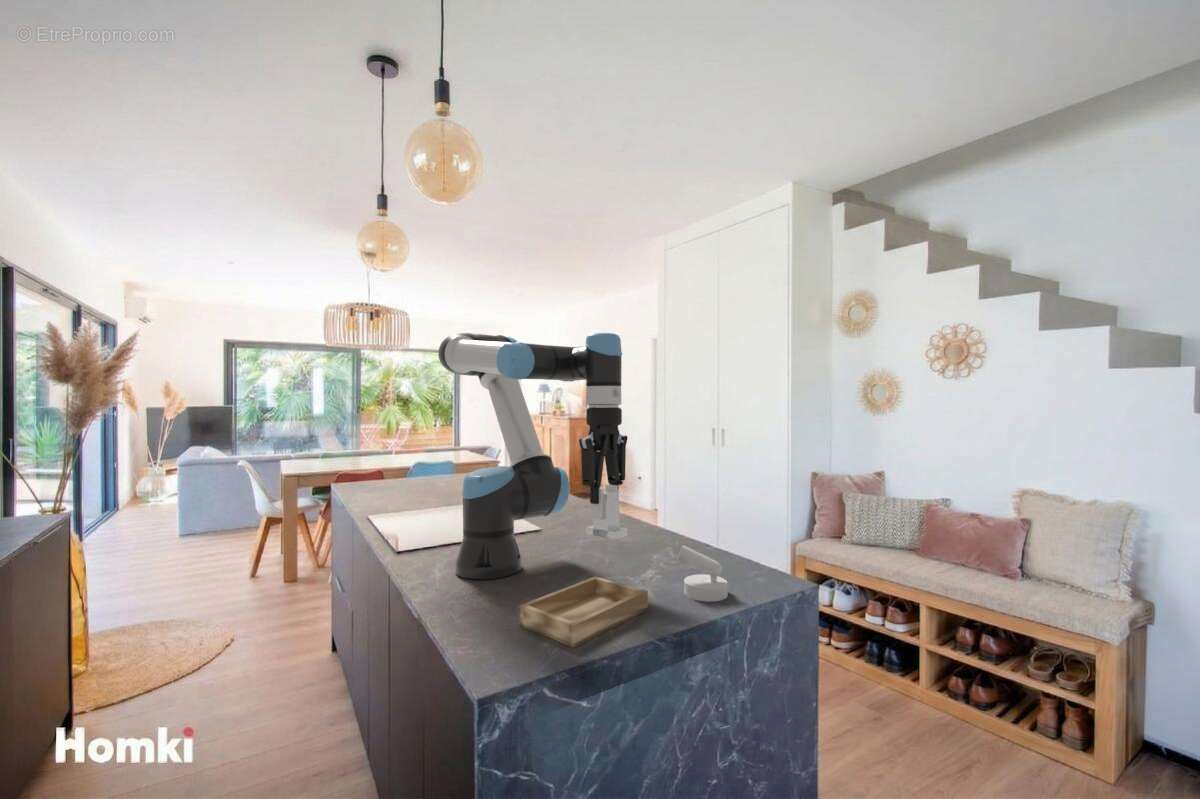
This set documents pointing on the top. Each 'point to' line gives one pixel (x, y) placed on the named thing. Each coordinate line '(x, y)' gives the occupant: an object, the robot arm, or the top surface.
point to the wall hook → (703, 577)
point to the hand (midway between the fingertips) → (604, 516)
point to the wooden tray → (583, 610)
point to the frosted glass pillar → (608, 519)
